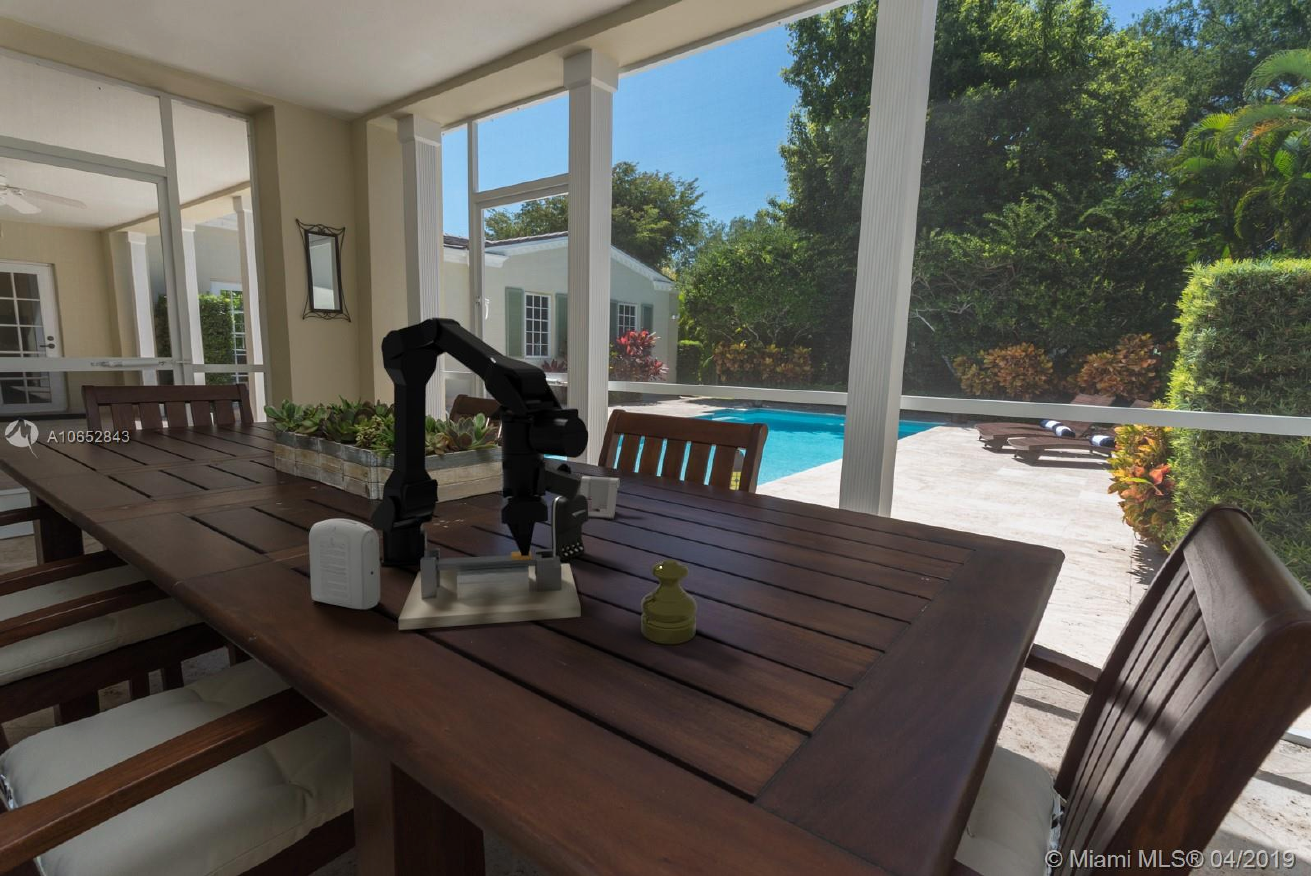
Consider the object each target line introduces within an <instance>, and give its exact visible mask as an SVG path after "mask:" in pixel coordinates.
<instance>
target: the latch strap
mask: <svg viewBox="0 0 1311 876" xmlns="http://www.w3.org/2000/svg"><path fill="white" fill-rule="evenodd" d="M532 553H533V552H532V550H530V551H529V554H528V555H522V554H521V553H520V551H511V552H510V554H509V555H495V556H494V555H492V556H490V555H489V556H470V557H469V556H468V557H467V556H466V557H445V558H440V559H436V571H443V570H463V569H484V568H504V567H525V566H535V576H537V559H538V558H542V556H541V554H536V553H535V554H532Z"/></svg>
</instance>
